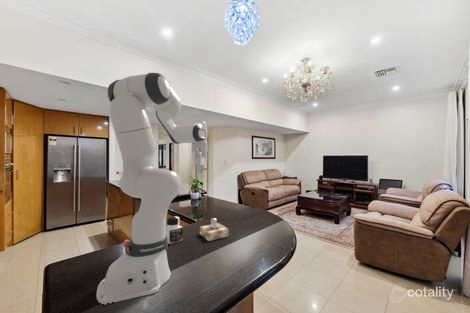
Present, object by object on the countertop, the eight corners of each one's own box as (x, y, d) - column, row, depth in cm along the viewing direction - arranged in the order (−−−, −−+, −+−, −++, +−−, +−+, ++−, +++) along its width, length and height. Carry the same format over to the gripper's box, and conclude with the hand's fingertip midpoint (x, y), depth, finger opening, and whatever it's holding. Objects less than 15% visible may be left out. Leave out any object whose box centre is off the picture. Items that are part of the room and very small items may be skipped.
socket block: (208, 241, 102) (208, 233, 102) (199, 233, 112) (199, 226, 112) (228, 236, 108) (228, 228, 108) (218, 229, 118) (218, 222, 118)
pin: (216, 236, 108) (216, 219, 108) (210, 236, 108) (210, 219, 108) (217, 233, 112) (216, 217, 112) (211, 234, 112) (211, 218, 112)
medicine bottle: (169, 244, 98) (169, 220, 98) (163, 240, 103) (163, 217, 104) (182, 240, 103) (182, 217, 103) (176, 236, 108) (176, 214, 108)
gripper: (203, 148, 105) (203, 174, 104) (207, 150, 125) (207, 172, 125) (191, 148, 104) (191, 174, 104) (197, 150, 125) (197, 172, 125)
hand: (199, 173), depth 115 cm, fingers open, 8 cm apart
